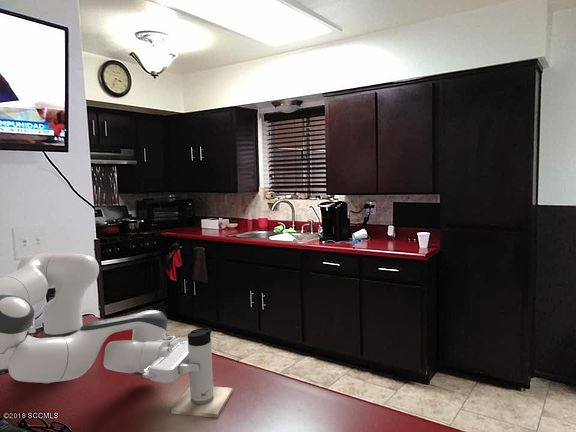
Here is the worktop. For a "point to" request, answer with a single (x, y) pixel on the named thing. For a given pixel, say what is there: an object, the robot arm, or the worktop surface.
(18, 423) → the worktop surface
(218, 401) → the coaster board
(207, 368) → the travel mug
